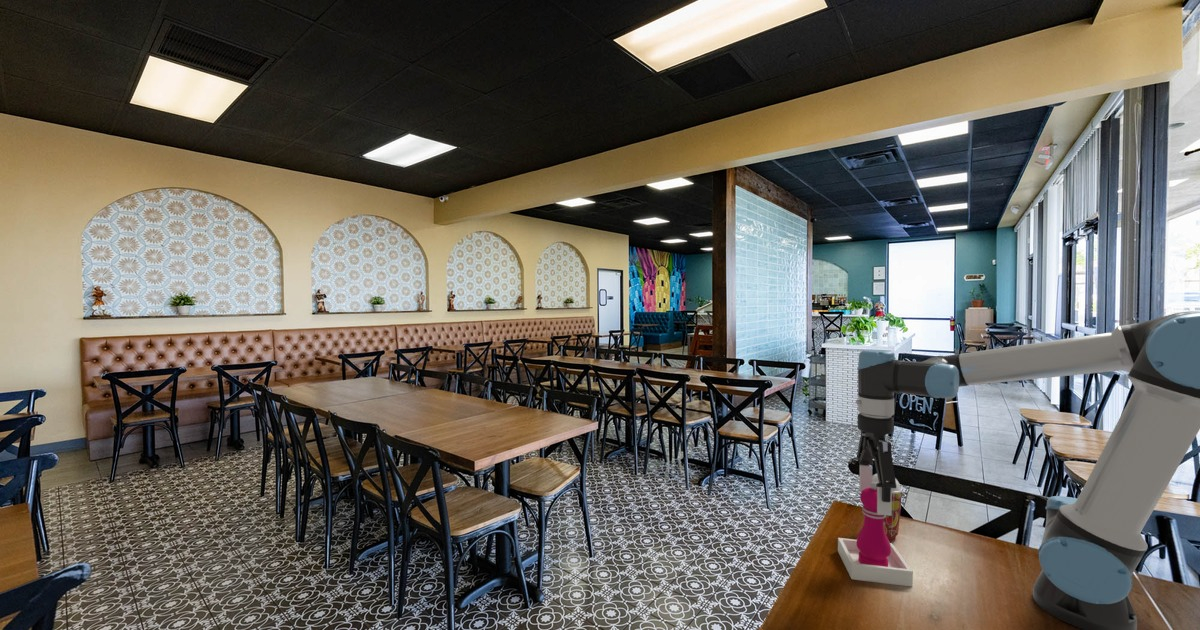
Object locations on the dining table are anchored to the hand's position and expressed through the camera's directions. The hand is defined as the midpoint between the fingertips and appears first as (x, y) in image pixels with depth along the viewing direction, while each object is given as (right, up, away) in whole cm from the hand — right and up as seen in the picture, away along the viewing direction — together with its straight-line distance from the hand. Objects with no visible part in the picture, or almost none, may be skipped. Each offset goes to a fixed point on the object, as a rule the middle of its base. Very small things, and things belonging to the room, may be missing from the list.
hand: (874, 502), depth 114 cm
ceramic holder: (0, -16, +1) cm, 16 cm away
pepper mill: (0, -15, +1) cm, 15 cm away
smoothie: (+12, -16, +16) cm, 26 cm away
